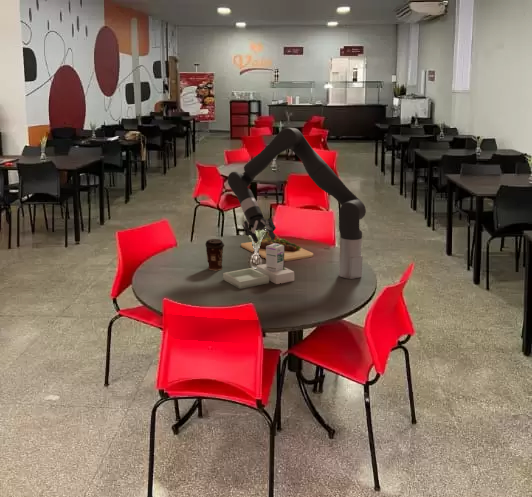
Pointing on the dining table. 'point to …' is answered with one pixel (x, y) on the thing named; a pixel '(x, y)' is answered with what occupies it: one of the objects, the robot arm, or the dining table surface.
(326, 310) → the dining table surface
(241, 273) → the tray
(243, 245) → the cutting board
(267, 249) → the syrup box
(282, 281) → the holder
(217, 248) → the coffee cup
